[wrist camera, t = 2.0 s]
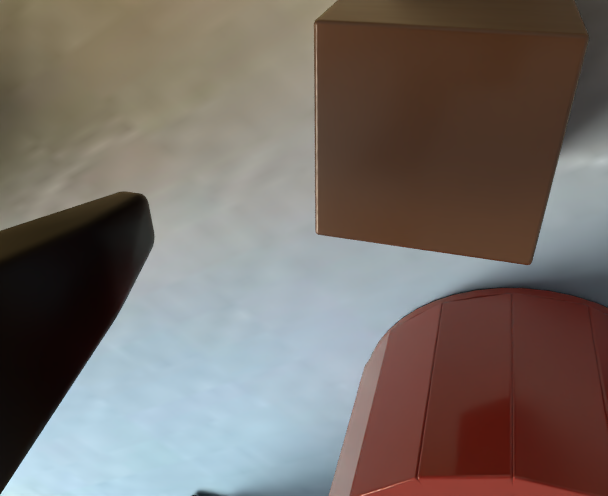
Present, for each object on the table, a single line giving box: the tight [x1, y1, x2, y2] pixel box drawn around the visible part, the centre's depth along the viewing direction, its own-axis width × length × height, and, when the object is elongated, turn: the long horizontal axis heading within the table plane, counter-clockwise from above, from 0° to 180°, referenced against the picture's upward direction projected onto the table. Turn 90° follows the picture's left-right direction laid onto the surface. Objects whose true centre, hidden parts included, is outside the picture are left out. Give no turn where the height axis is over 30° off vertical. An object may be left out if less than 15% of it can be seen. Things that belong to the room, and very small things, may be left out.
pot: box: [329, 288, 608, 496], centre depth 19 cm, size 12×12×7 cm
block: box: [314, 0, 589, 265], centre depth 14 cm, size 5×5×5 cm
